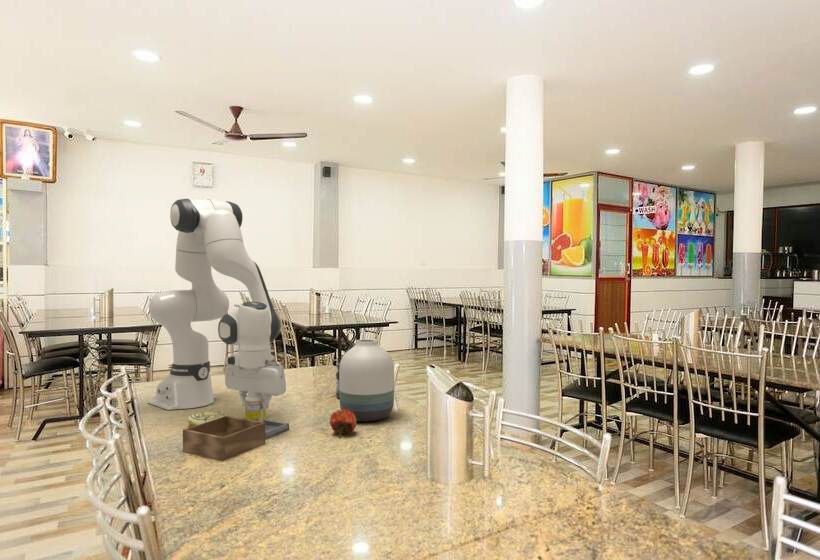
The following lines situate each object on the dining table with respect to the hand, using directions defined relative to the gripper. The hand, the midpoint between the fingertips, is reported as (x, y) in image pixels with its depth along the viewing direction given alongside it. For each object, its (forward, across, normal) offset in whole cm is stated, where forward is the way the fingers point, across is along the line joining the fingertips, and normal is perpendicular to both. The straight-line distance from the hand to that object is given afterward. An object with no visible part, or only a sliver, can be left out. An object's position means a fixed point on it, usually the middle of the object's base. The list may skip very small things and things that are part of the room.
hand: (255, 407), depth 148 cm
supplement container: (+7, -2, -45) cm, 46 cm away
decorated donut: (+7, +16, +3) cm, 18 cm away
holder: (+7, -3, +14) cm, 16 cm away
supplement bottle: (+5, 0, 0) cm, 5 cm away
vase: (+7, -21, -26) cm, 34 cm away
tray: (+7, 0, 0) cm, 7 cm away
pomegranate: (+7, -24, -9) cm, 27 cm away
